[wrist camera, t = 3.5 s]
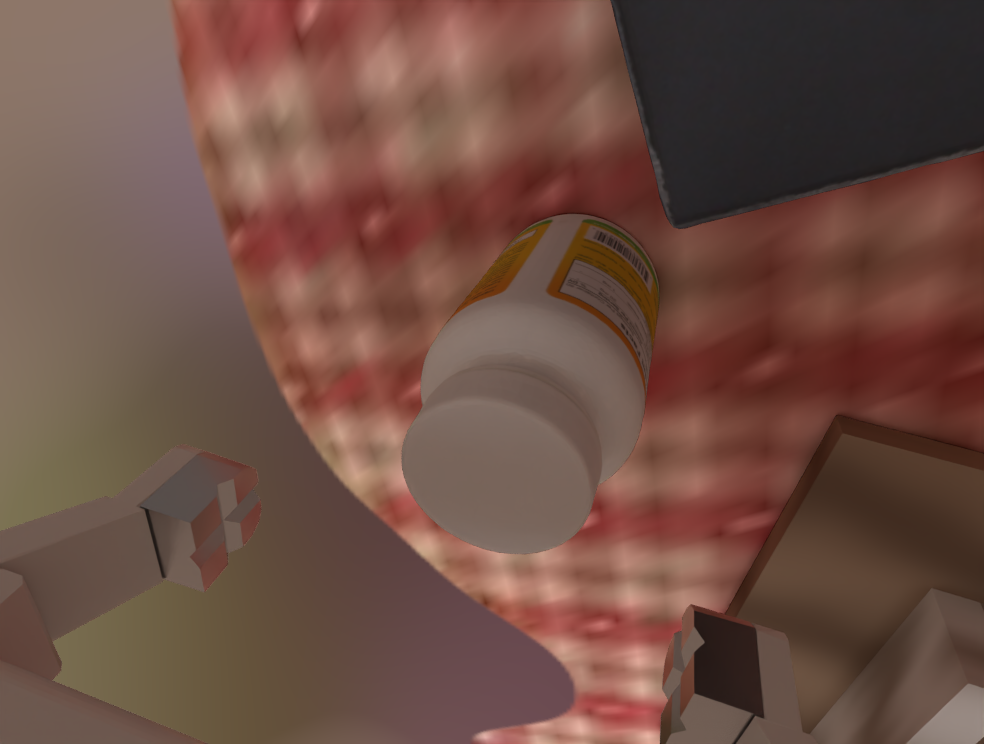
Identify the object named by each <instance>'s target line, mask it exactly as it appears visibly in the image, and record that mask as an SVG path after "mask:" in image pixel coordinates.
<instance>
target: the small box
mask: <svg viewBox="0 0 984 744" xmlns="http://www.w3.org/2000/svg"><path fill="white" fill-rule="evenodd" d="M611 3H612V7H613V12H614V16H615V20H616V24H617V28H618V32H619V36H620V40H621V44H622V48H623V51H624V56H625V60H626V64H627V69H628V73H629V76H630V80H631V84H632V88H633V92H634V95H635V99H636V103H637V107H638V111H639V115H640V119H641V123H642V127H643V131H644V135H645V139H646V143H647V147H648V151H649V155H650V158H651V162H652V165H653V169H654V172H655V176H656V181H657V186H658V191H659V196H660V199H661V202H662V205H663V208H664V211H665V214H666V217H667V219H668V220H669V222H670V224H671V225H672V226H673V227H674V228H678V229H683V228H688V227H692V226H695V225H698V224H702V223H706V222H710V221H714V220H718V219H722V218H726V217H730V216H734V215H738V214H742V213H746V212H750V211H753V210H757V209H761V208H765V207H769V206H772V205H776V204H780V203H784V202H788V201H792V200H796V199H800V198H803V197H807V196H811V195H815V194H819V193H823V192H827V191H831V190H835V189H839V188H843V187H847V186H851V185H855V184H859V183H864V182H868V181H871V180H875V179H878V178H882V177H885V176H889V175H892V174H896V173H899V172H903V171H907V170H910V169H914V168H918V167H921V166H925V165H930V164H935V163H940V162H944V161H948V160H951V159H955V158H959V157H963V156H967V155H970V154H974V153H978V152H982V151H984V0H611Z"/></svg>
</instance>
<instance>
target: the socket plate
mask: <svg viewBox="0 0 984 744" xmlns="http://www.w3.org/2000/svg"><path fill="white" fill-rule="evenodd" d="M725 615H729V616H732V617H735V618H739V619H742V620H745V621H749V622H750V623H754V624H757V625H760V626H763V627H766V628H770V629H773V630H776V631H779V632H783V633H785V635H786V637H787V638H788V641H789V647H790V654H791V660H792V667H793V673H794V679H795V686H796V692H797V699H798V705H799V712H800V718H801V725H802V731H803V732H804V733H807V734H810V735H812V736H813V737H814V738H815V740H816V741H817V743H818V744H984V453H980V452H976V451H972V450H969V449H965V448H961V447H957V446H953V445H949V444H946V443H942V442H938V441H934V440H930V439H926V438H923V437H919V436H915V435H911V434H907V433H903V432H900V431H896V430H892V429H888V428H884V427H880V426H877V425H873V424H869V423H865V422H861V421H858V420H854V419H850V418H846V417H842V416H838V415H836V417H835V419H834V421H833V423H832V424H831V426H830V428H829V430H828V431H827V433H826V435H825V437H824V439H823V440H822V442H821V444H820V446H819V448H818V449H817V451H816V453H815V455H814V456H813V458H812V460H811V462H810V464H809V465H808V467H807V469H806V471H805V473H804V474H803V476H802V478H801V480H800V481H799V483H798V485H797V487H796V489H795V490H794V492H793V494H792V496H791V498H790V499H789V501H788V503H787V505H786V506H785V508H784V510H783V512H782V514H781V515H780V517H779V519H778V521H777V523H776V524H775V526H774V528H773V530H772V531H771V533H770V535H769V537H768V539H767V540H766V542H765V544H764V546H763V548H762V549H761V551H760V553H759V555H758V556H757V558H756V560H755V562H754V564H753V565H752V567H751V569H750V571H749V573H748V574H747V576H746V578H745V580H744V581H743V583H742V585H741V587H740V589H739V590H738V592H737V594H736V596H735V598H734V599H733V601H732V603H731V605H730V606H729V608H728V610H727V612H726V614H725Z"/></svg>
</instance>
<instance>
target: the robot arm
mask: <svg viewBox="0 0 984 744" xmlns="http://www.w3.org/2000/svg"><path fill="white" fill-rule="evenodd" d="M257 483H258V477H257V470H256V469H255V468H252V467H250V466H247V465H244V464H242V463H239V462H235V461H233V460H230V459H227V458H224V457H221V456H218V455H215V454H213V453H210V452H207V451H203V450H200V449H197V448H194V447H191V446H188V445H185V444H182V445H179V446H176V447H173V448H172V449H171V450H170V451H168V452H167V453H166V454H165V455H164V456H163V457H161V458H160V459H159V460H158V461H157V462H155V463H154V464H153V465H152V466H151V467H149V468H148V469H147V470H146V471H145V472H143V473H142V474H141V475H140V476H139V477H137V478H136V479H135V480H134V481H133V482H132V483H130V484H129V485H128V486H127V487H126V488H124V489H123V490H122V491H121V492H120V493H118V494H117V495H116V496H115V497H114V498H110V497H107V496H105V497H102V498H99V499H96V500H93V501H89V502H87V503H84V504H80V505H77V506H74V507H71V508H69V509H65V510H62V511H59V512H56V513H53V514H50V515H48V516H44V517H41V518H38V519H35V520H33V521H29V522H26V523H24V524H20V525H17V526H14V527H11V528H8V529H5V530H2V531H0V744H208V743H205V742H203V741H200V740H198V739H195V738H193V737H191V736H188V735H186V734H183V733H181V732H178V731H176V730H173V729H171V728H168V727H166V726H163V725H161V724H158V723H156V722H153V721H151V720H148V719H146V718H144V717H141V716H139V715H136V714H134V713H131V712H129V711H126V710H124V709H121V708H119V707H116V706H114V705H111V704H109V703H107V702H104V701H102V700H99V699H97V698H94V697H92V696H89V695H87V694H84V693H82V692H79V691H77V690H74V689H72V688H70V687H67V686H65V685H62V684H60V683H57V682H55V681H52V680H53V679H54V678H55V677H56V675H58V673H59V672H60V671H61V666H62V661H61V659H60V657H59V655H58V653H57V651H56V649H55V646H54V644H53V642H52V641H54V640H56V639H58V638H60V637H62V636H64V635H65V634H67V633H69V632H71V631H73V630H75V629H77V628H78V627H80V626H82V625H84V624H86V623H88V622H89V621H91V620H93V619H95V618H97V617H98V616H100V615H102V614H104V613H106V612H108V611H110V610H112V609H113V608H115V607H117V606H119V605H121V604H123V603H125V602H126V601H128V600H130V599H132V598H134V597H136V596H138V595H139V594H141V593H143V592H145V591H147V590H149V589H151V588H152V587H154V586H156V585H158V584H160V583H161V582H163V579H165V580H168V581H171V582H174V583H177V584H180V585H184V586H187V587H190V588H193V589H196V590H199V591H202V592H205V591H206V590H207V589H208V588H209V587H210V585H211V584H212V583H213V582H214V581H215V579H216V578H217V577H218V576H219V575H220V573H221V572H222V571H223V570H224V569H225V567H226V566H227V565H228V553H229V552H232V551H234V550H236V549H239V548H240V547H243V546H244V545H245V544H246V542H247V541H248V540H249V539H250V537H251V536H252V535H253V533H254V531H255V529H256V526H257V524H258V522H259V520H260V513H261V500H260V498H259V497H258V495H257V494H256V493H255V492H254V490H253V488H254V487H255V486H256V485H257ZM662 689H663V691H664V693H665V695H666V697H667V698H668V702H667V704H666V706H665V708H664V710H663V712H662V714H661V728H660V744H818V743H817V741H816V740H815V738H814V737H813V736H812V735H810V734H807V733H804V732H803V731H802V725H801V718H800V712H799V705H798V699H797V692H796V686H795V679H794V673H793V667H792V660H791V654H790V647H789V641H788V638H787V637H786V635H785V633H783V632H779V631H776V630H773V629H770V628H766V627H763V626H760V625H757V624H754V623H750V622H749V621H745V620H742V619H739V618H735V617H732V616H729V615H725V614H722V613H719V612H715V611H712V610H709V609H705V608H702V607H699V606H696V605H692V604H691V605H690V606H688V607H687V609H686V611H685V613H684V615H683V617H682V631H679V632H677V633H674V636H673V638H672V640H671V642H670V645H669V648H668V652H667V655H666V659H665V665H664V672H663V686H662Z"/></svg>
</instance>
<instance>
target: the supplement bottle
mask: <svg viewBox="0 0 984 744" xmlns="http://www.w3.org/2000/svg"><path fill="white" fill-rule="evenodd" d="M658 308H659V284H658V279H657V275H656V272H655V269H654V267H653V264H652V262H651V260H650V258H649V257H648V255H647V253H646V252H645V250H644V249H643V248H642V246H641V245H640V244H639V243H638V242H637V241H636V240H635V239H634V238H633V237H632V236H631V235H630V234H629V233H627V232H626V231H625V230H623V229H622V228H620V227H619V226H617V225H615V224H613V223H611V222H609V221H607V220H604V219H601V218H598V217H595V216H590V215H583V214H564V215H558V216H553V217H549V218H546V219H544V220H541V221H539V222H537V223H535V224H533V225H531V226H529V227H528V228H526V229H525V230H523V231H522V232H521V233H520V234H519V235H517V236H516V237H515V238H514V239H513V240H512V241H511V242H510V243H509V245H508V246H507V247H506V248H505V249H504V251H503V252H502V253H501V254H500V256H499V257H498V258H497V260H496V261H495V262H494V264H493V265H492V266H491V268H490V269H489V270H488V271H487V273H486V274H485V275H484V277H483V278H482V279H481V280H480V282H479V283H478V284H477V285H476V287H475V288H474V289H473V290H472V291H471V293H470V294H469V295H468V296H467V298H466V299H465V301H464V302H463V303H462V304H461V305H460V306H459V308H458V309H457V310H456V312H455V313H454V314H453V315H452V317H451V318H450V319H449V320H448V322H447V323H446V324H445V326H444V327H443V328H442V330H441V331H440V332H439V334H438V336H437V337H436V339H435V340H434V342H433V343H432V345H431V347H430V349H429V351H428V353H427V355H426V358H425V361H424V365H423V370H422V375H421V399H422V404H423V407H422V408H421V410H420V412H419V414H418V415H417V417H416V418H415V420H414V421H413V423H412V424H411V426H410V428H409V429H408V431H407V434H406V436H405V439H404V442H403V447H402V470H403V474H404V478H405V481H406V483H407V486H408V488H409V491H410V492H411V494H412V496H413V497H414V499H415V501H416V502H417V503H418V505H419V506H420V507H421V508H422V510H423V511H424V512H425V513H426V514H427V515H428V516H429V517H430V518H431V519H432V520H433V521H434V522H435V523H437V524H438V525H439V526H440V527H441V528H443V529H444V530H446V531H447V532H449V533H450V534H452V535H454V536H456V537H457V538H459V539H461V540H463V541H465V542H467V543H470V544H472V545H474V546H477V547H480V548H483V549H486V550H490V551H494V552H499V553H508V554H530V553H538V552H542V551H546V550H549V549H552V548H555V547H557V546H559V545H561V544H563V543H565V542H566V541H567V540H569V539H570V538H572V537H573V536H574V535H575V534H576V533H577V532H578V531H579V530H580V529H581V527H582V526H583V525H584V523H585V522H586V520H587V518H588V516H589V514H590V511H591V508H592V504H593V500H594V497H595V494H596V490H597V486H598V485H599V484H601V483H603V482H604V481H606V480H607V479H609V478H610V477H611V476H613V475H614V474H615V473H616V472H617V471H618V470H619V469H620V468H621V467H622V465H623V464H624V463H625V462H626V460H627V459H628V457H629V456H630V454H631V452H632V451H633V449H634V447H635V444H636V442H637V440H638V437H639V433H640V430H641V426H642V421H643V417H644V413H645V405H646V397H647V396H646V395H647V386H648V379H649V371H650V364H651V358H652V350H653V343H654V336H655V329H656V323H657V316H658Z"/></svg>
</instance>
